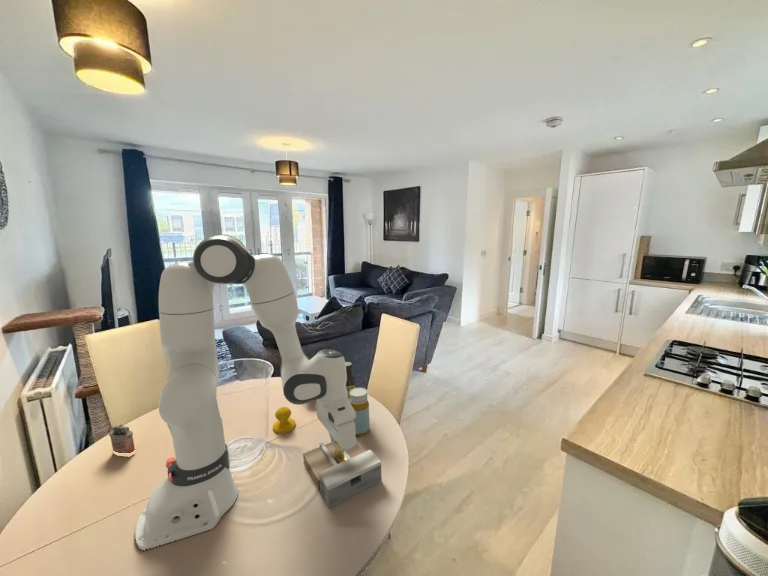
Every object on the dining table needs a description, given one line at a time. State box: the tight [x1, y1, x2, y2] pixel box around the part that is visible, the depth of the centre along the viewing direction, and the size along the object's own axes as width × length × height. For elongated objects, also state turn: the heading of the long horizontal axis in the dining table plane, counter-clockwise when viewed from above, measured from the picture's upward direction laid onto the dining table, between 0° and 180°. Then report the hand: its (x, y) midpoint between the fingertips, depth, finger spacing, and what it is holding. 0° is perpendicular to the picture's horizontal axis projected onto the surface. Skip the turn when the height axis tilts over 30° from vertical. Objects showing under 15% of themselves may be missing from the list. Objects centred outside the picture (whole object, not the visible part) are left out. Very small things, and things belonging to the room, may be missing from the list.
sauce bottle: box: [345, 361, 356, 401], centre depth 123 cm, size 7×6×20 cm
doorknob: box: [272, 406, 297, 435], centre depth 115 cm, size 8×8×8 cm
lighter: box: [108, 423, 136, 453], centre depth 102 cm, size 8×3×10 cm, turn 76°
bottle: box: [350, 387, 370, 437], centre depth 111 cm, size 7×7×15 cm
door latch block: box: [302, 441, 383, 509], centre depth 92 cm, size 20×16×6 cm
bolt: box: [334, 441, 347, 464], centre depth 90 cm, size 9×3×6 cm, turn 33°
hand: (335, 445), depth 95 cm, fingers closed
